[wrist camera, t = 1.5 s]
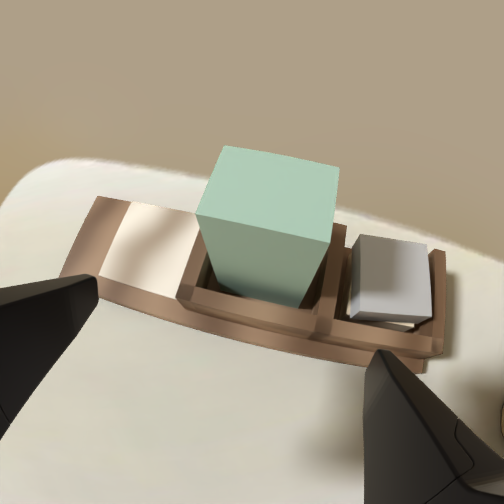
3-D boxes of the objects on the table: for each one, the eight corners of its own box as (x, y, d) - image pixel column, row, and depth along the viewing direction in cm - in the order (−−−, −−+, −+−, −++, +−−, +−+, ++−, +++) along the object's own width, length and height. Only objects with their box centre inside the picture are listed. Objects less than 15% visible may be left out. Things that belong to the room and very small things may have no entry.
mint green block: (308, 257, 22) (339, 167, 13) (297, 308, 21) (329, 242, 12) (235, 240, 23) (224, 145, 14) (220, 290, 21) (195, 214, 12)
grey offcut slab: (414, 256, 20) (426, 244, 18) (417, 323, 18) (431, 316, 16) (351, 247, 20) (360, 234, 19) (349, 318, 18) (359, 310, 17)
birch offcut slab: (406, 270, 22) (417, 260, 20) (401, 333, 20) (413, 327, 18) (348, 256, 22) (355, 245, 20) (338, 320, 20) (346, 314, 18)
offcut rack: (424, 272, 23) (447, 252, 19) (415, 373, 19) (443, 368, 16) (101, 201, 26) (84, 176, 22) (63, 283, 23) (38, 265, 19)
